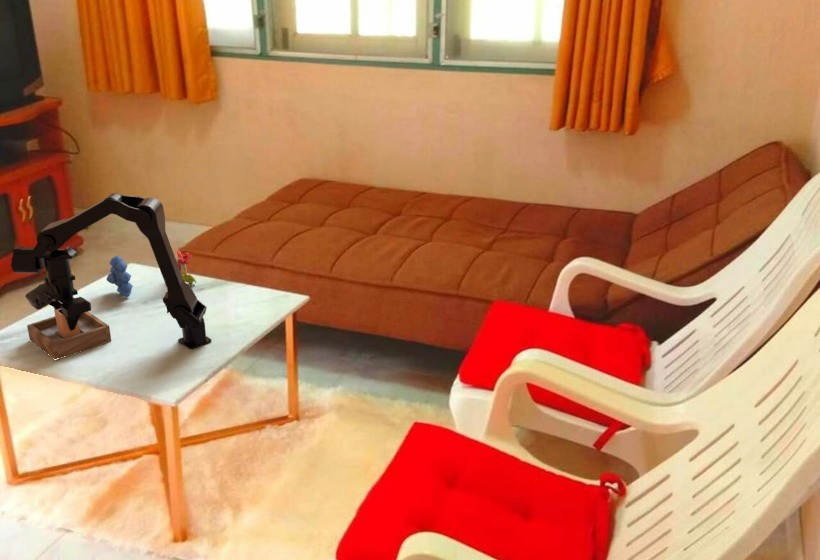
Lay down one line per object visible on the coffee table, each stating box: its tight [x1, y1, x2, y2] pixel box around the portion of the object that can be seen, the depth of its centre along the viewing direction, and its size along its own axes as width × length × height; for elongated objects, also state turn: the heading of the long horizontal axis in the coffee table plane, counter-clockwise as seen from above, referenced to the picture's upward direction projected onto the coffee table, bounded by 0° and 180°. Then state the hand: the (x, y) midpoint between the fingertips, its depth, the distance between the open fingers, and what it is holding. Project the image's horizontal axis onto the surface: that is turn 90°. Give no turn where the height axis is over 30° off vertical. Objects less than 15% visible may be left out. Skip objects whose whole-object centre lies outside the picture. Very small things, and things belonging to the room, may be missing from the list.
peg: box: [53, 308, 80, 339], centre depth 201 cm, size 4×4×7 cm
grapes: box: [105, 255, 134, 298], centre depth 227 cm, size 12×7×12 cm, turn 39°
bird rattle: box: [176, 250, 197, 284], centre depth 237 cm, size 6×11×9 cm
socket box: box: [26, 311, 112, 360], centre depth 203 cm, size 15×15×4 cm
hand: (68, 327), depth 202 cm, fingers closed on peg, 4 cm apart
